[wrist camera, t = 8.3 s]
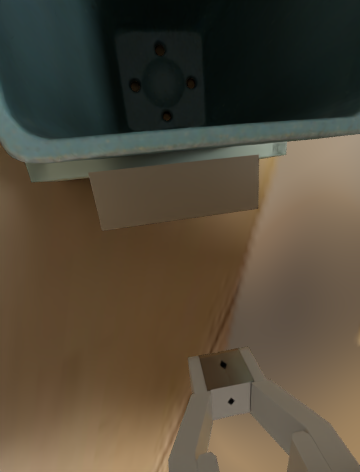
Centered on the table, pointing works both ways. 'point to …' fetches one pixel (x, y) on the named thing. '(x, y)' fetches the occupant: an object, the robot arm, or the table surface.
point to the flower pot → (174, 75)
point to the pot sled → (167, 183)
